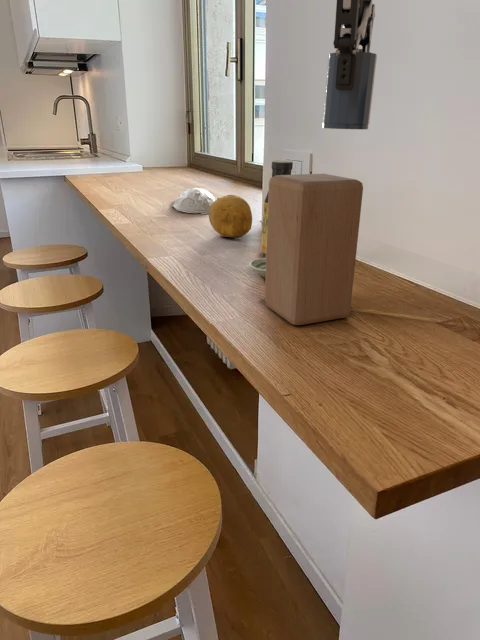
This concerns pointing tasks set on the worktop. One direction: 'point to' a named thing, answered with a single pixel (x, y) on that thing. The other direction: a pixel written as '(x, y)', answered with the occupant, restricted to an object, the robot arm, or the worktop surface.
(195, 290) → the worktop surface
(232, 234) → the potato
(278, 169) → the sauce bottle
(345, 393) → the worktop surface
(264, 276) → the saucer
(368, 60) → the cup
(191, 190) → the white lumpy mound
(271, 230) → the block
